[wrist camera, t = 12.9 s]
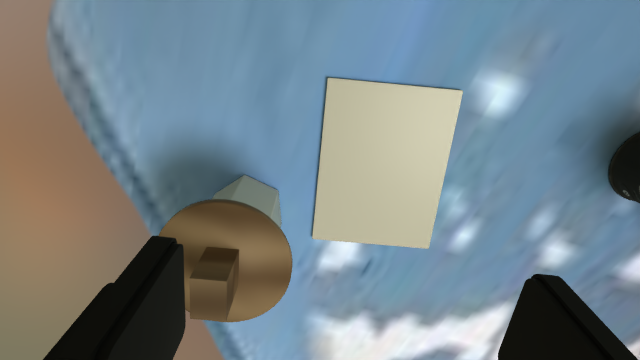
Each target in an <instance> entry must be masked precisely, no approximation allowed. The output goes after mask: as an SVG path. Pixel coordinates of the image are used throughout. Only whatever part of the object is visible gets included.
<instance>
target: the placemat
mask: <svg viewBox="0 0 640 360" xmlns="http://www.w3.org/2000/svg"><path fill="white" fill-rule="evenodd" d="M462 94H463V91H462V90H454V89H443V88H433V87H423V86H412V85H402V84H391V83H381V82H371V81H360V80H350V79H340V78H329V77H328V82H327V92H326V102H325V112H324V123H323V133H322V143H321V154H320V164H319V174H318V184H317V195H316V205H315V215H314V226H313V236H312V239H320V240H332V241H344V242H356V243H368V244H379V245H391V246H403V247H415V248H427V249H429V244H430V240H431V235H432V231H433V226H434V221H435V217H436V212H437V208H438V203H439V199H440V194H441V190H442V185H443V180H444V176H445V171H446V167H447V162H448V158H449V153H450V148H451V144H452V139H453V135H454V130H455V126H456V121H457V117H458V112H459V107H460V103H461V98H462Z"/></svg>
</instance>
